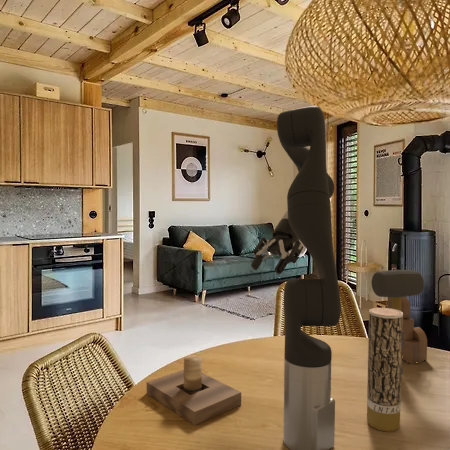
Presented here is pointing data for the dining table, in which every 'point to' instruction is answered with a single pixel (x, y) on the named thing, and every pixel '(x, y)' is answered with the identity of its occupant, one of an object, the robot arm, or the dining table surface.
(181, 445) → the dining table surface
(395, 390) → the paper tube
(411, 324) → the wooden toy
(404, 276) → the rubber mallet
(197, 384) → the peg
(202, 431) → the dining table surface
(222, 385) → the board
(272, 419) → the dining table surface
